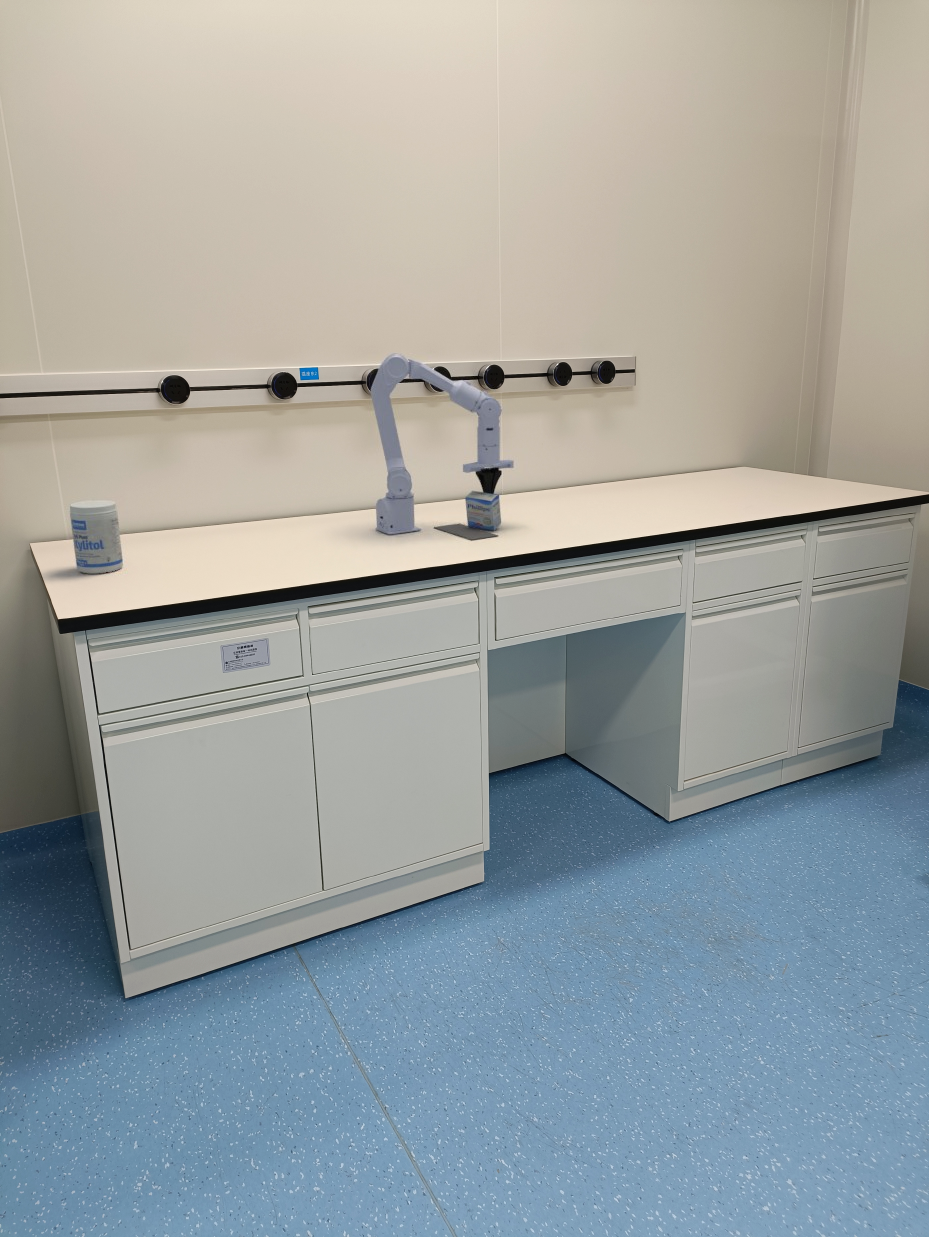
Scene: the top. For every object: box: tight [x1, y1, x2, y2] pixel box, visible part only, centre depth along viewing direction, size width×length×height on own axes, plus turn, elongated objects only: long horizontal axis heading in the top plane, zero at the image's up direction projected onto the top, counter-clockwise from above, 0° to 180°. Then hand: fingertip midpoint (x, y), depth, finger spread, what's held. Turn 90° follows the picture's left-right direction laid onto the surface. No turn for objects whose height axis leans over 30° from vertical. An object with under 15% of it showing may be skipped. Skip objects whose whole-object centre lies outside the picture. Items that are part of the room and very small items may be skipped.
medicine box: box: [464, 490, 502, 531], centre depth 232 cm, size 8×4×9 cm, turn 62°
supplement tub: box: [69, 499, 124, 575], centre depth 195 cm, size 10×10×15 cm
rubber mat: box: [433, 522, 499, 541], centre depth 230 cm, size 8×18×1 cm, turn 33°
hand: (488, 497), depth 233 cm, fingers closed
